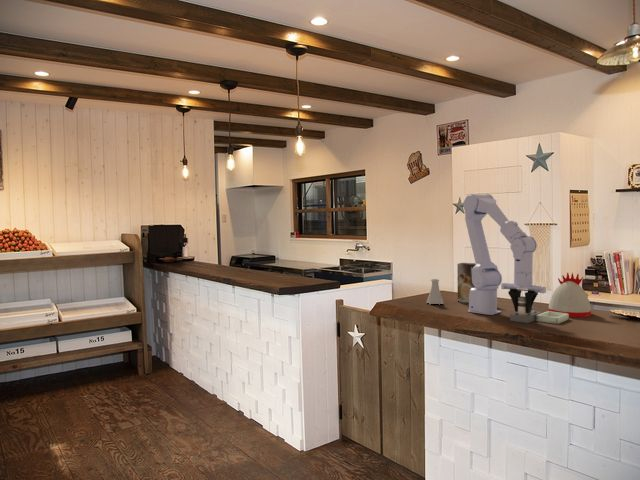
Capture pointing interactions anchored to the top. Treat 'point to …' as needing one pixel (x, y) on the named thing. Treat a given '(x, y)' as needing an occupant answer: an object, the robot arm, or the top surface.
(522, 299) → the cylinder
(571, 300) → the kitchen timer
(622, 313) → the top surface
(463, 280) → the coffee box
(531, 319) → the grey compartment rack
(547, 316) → the parts tray
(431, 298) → the flask
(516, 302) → the robot arm
